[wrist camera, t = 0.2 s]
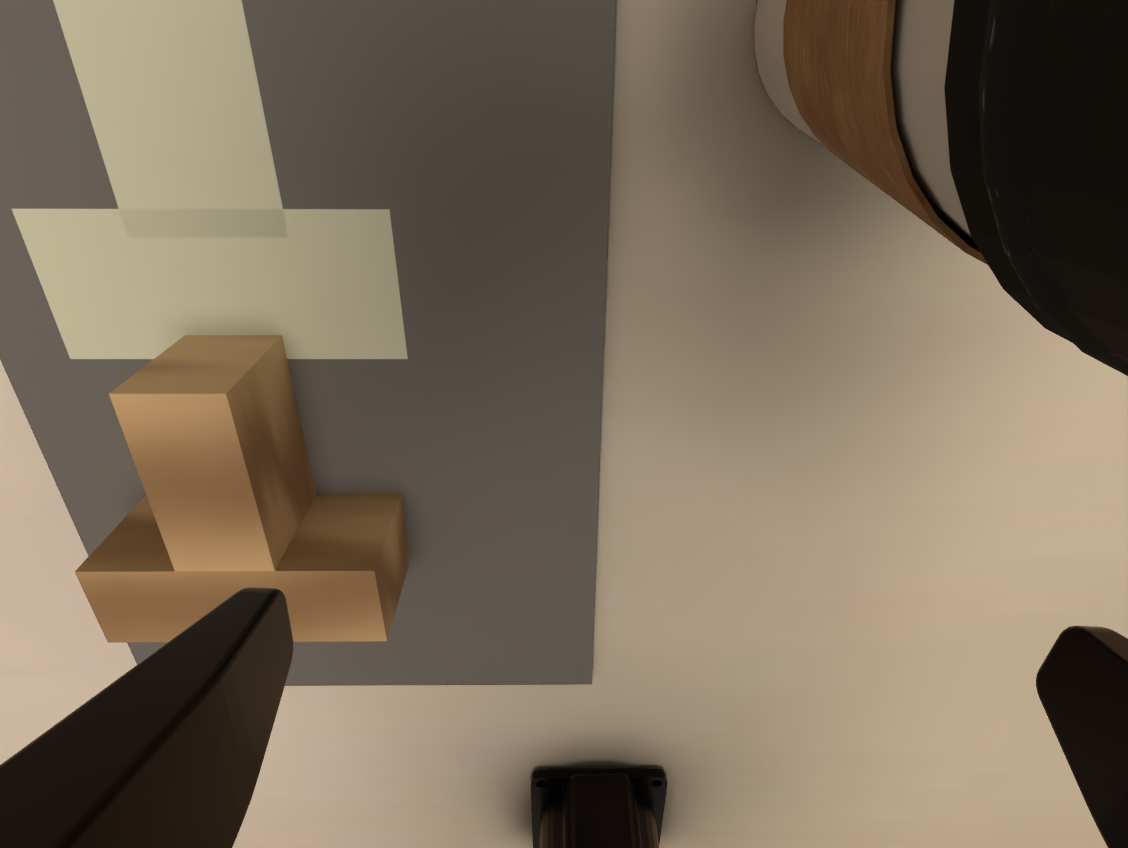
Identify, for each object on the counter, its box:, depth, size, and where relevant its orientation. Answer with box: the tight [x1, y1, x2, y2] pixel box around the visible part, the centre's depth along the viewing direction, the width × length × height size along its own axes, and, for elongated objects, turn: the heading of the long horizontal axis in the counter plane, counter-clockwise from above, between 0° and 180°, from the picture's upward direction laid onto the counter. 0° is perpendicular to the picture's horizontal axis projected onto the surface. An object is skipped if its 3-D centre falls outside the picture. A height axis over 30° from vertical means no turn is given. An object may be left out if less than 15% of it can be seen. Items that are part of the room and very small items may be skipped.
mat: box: [0, 0, 616, 686], centre depth 22 cm, size 26×19×1 cm
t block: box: [75, 335, 411, 642], centre depth 21 cm, size 9×9×4 cm
